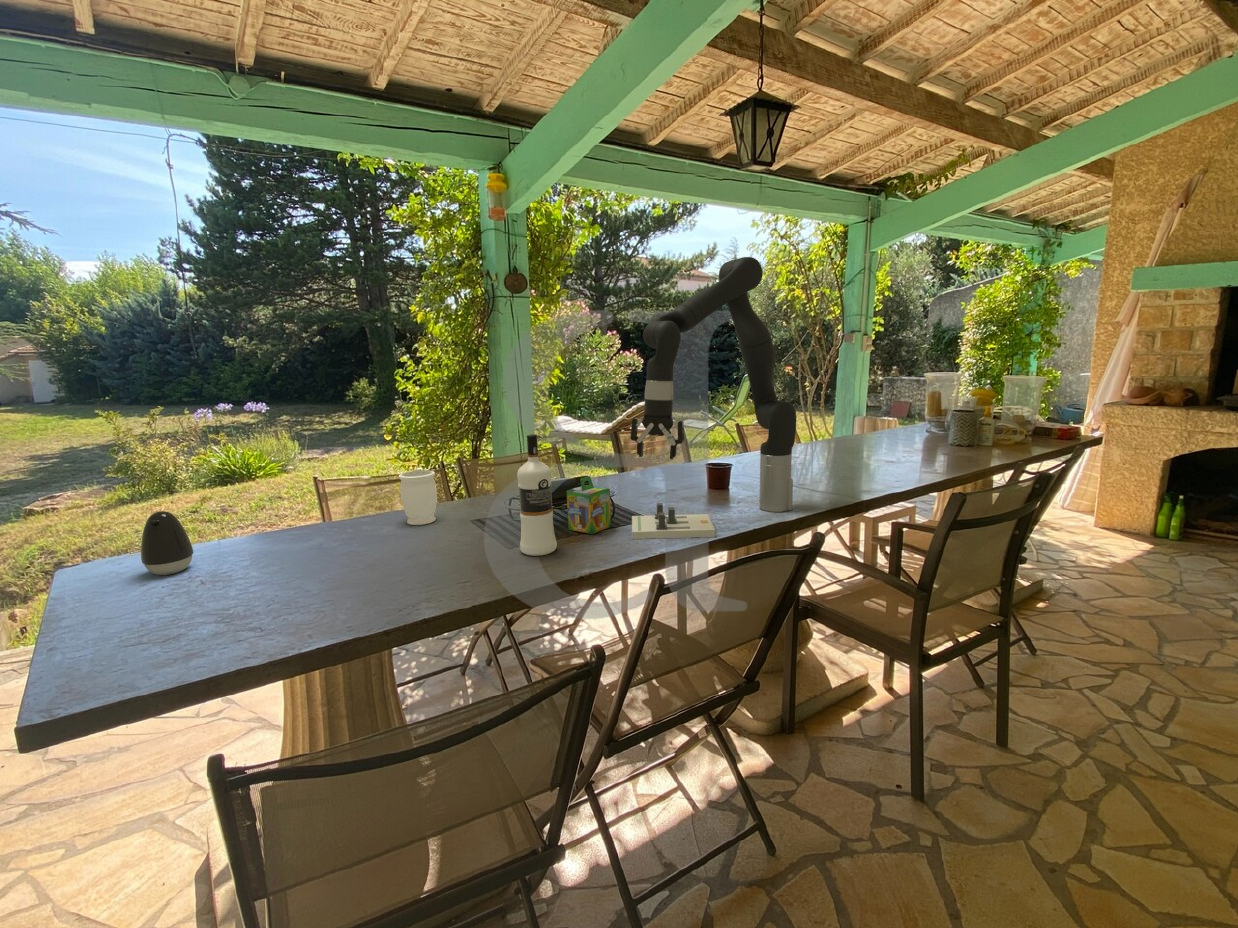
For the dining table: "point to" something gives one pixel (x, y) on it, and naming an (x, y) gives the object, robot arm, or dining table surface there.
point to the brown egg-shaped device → (165, 544)
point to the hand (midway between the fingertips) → (656, 457)
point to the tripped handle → (671, 515)
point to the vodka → (535, 504)
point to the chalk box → (588, 508)
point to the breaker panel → (673, 527)
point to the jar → (418, 496)
